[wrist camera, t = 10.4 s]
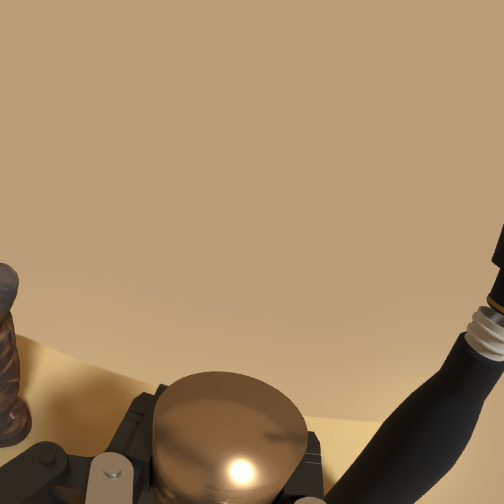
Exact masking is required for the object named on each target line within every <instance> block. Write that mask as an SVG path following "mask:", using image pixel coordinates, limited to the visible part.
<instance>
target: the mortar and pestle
mask: <svg viewBox="0 0 504 504" xmlns="http://www.w3.org/2000/svg"><path fill="white" fill-rule="evenodd" d="M18 280H19V279H18V275H17V273H16V272H15V271H14V270H13V269H12V268H11V267H10V266H9V265H7V264H4V263H0V448H3V447H9V446H13V445H16V444H18V443H19V442H21V441H23V440H24V439H25V438H26V437H27V435H28V433H29V432H30V430H31V424H32V423H31V417H30V414H29V411H28V408H27V407H26V404H25V403H24V402H23V401H22V399H21V398H20V397H19V396H17V394H18V390H19V380H20V363H19V356H18V352H17V348H16V339H15V332H14V325H13V319H12V315H11V312H10V309H11V307H12V305H13V302H14V300H15V298H16V295H17V289H18V285H19V281H18Z"/></svg>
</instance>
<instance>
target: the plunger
mask: <svg viewBox="0 0 504 504" xmlns="http://www.w3.org/2000/svg"><path fill="white" fill-rule="evenodd" d="M307 443H308V432H307V426H306V423H305V420H304V418H303V416H302V414H301V413H300V411H299V410H298V408H297V407H296V406H295V405H294V404H293V402H292V401H291V400H290V399H289V398H287V397H286V396H285V395H284V394H283V393H281V392H280V391H279V390H277V389H275V388H274V387H272V386H270V385H268V384H266V383H265V382H262V381H260V380H258V379H255V378H252V377H249V376H245V375H241V374H237V373H230V372H203V373H197V374H193V375H189V376H187V377H184V378H182V379H179V380H178V381H176V382H174V383H173V384H171V385H170V386H169V387H168V388H166V389H165V390H164V392H163V393H162V394H161V395H160V397H159V399H158V401H157V403H156V406H155V409H154V416H153V441H152V504H271V503H272V502H273V501H274V499H275V498H276V496H277V495H278V494H279V492H280V491H281V489H282V488H283V486H284V485H285V484H286V482H287V481H288V479H289V478H290V476H291V475H292V473H293V472H294V470H295V469H296V467H297V466H298V464H299V463H300V461H301V459H302V458H303V456H304V454H305V451H306V449H307Z"/></svg>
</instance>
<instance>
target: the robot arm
mask: <svg viewBox="0 0 504 504" xmlns="http://www.w3.org/2000/svg"><path fill="white" fill-rule="evenodd" d="M168 387H169V386H167V385H163V384H160V385H159V387H158V389H157V391H156V393H155V395H151V394H148V393H145V392H143V393H142V394H140V395H139V396H138V397H136V398H135V399H134V400H133V402H132V403H131V405H130V407H129V409H128V411H127V413H126V414H125V416H124V419H123V420H122V422H121V424H120V426H119V428H118V429H117V431H116V433H115V435H114V437H113V439H112V441H111V443H110V445H109V446H108V448H107V449H106V451H105V452H103V453H101V454H99V455H97V456H95V457H81V456H74V455H69V454H66V453H65V451H64V450H63V449H62V448H61V447H60V446H59V445H57V444H55V443H53V442H47V441H43V442H39V443H36V444H35V445H33V446H32V447H30V448H29V449H27V450H26V451H24V452H23V453H21V454H20V455H18V456H17V457H15V458H14V459H12V460H11V461H9V462H8V463H6V464H5V465H3V466H2V467H0V504H137V503H138V500H139V497H140V495H141V492H142V491H145V492H148V493H149V492H150V489H151V486H152V441H153V416H154V409H155V406H156V403H157V401H158V399H159V397H160V395H161V394H162V393H163V392H164V390H165V389H166V388H168ZM307 432H308V443H307V449H306V451H305V454H304V456H303V458H302V459H301V461H300V463H299V464H298V466H297V467H296V469H295V470H294V472H293V473H292V475H291V476H290V478H289V479H288V481H287V482H286V484H285V485H284V486H283V488H282V489H281V491H280V492H279V494H278V495H277V496H276V498H275V499H274V501H273V502H272V503H271V504H327V503H326V502H325V500H324V493H323V478H322V465H321V456H320V454H321V451H320V442H319V440H318V438H317V437H316V435H315V433H314V432H311V431H307Z"/></svg>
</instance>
